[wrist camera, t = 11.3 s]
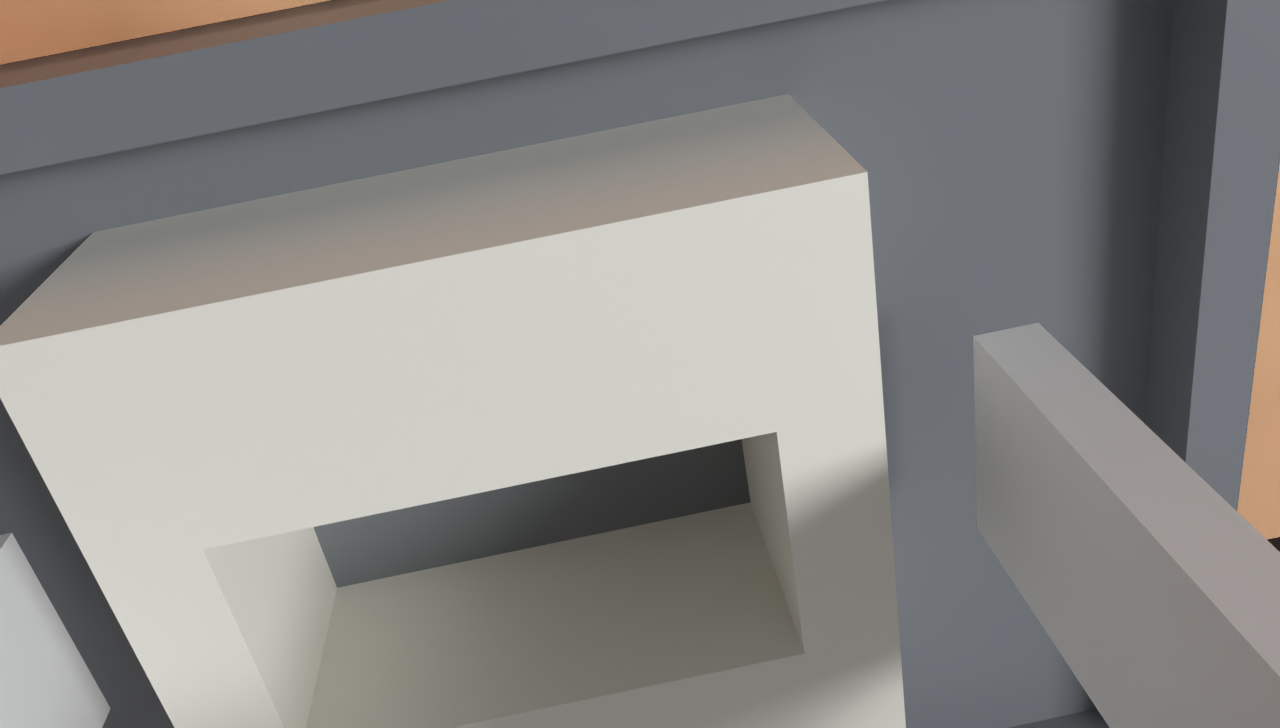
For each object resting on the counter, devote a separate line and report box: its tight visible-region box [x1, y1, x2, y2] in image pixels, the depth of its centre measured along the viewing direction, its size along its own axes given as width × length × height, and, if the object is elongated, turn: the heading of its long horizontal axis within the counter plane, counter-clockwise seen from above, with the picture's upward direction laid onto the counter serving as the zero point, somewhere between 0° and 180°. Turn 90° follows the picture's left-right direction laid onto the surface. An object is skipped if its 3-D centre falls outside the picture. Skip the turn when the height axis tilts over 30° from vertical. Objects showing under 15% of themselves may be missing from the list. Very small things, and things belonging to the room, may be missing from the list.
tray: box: [0, 0, 1280, 728], centre depth 14 cm, size 14×19×2 cm
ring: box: [0, 94, 906, 728], centre depth 13 cm, size 8×10×3 cm
